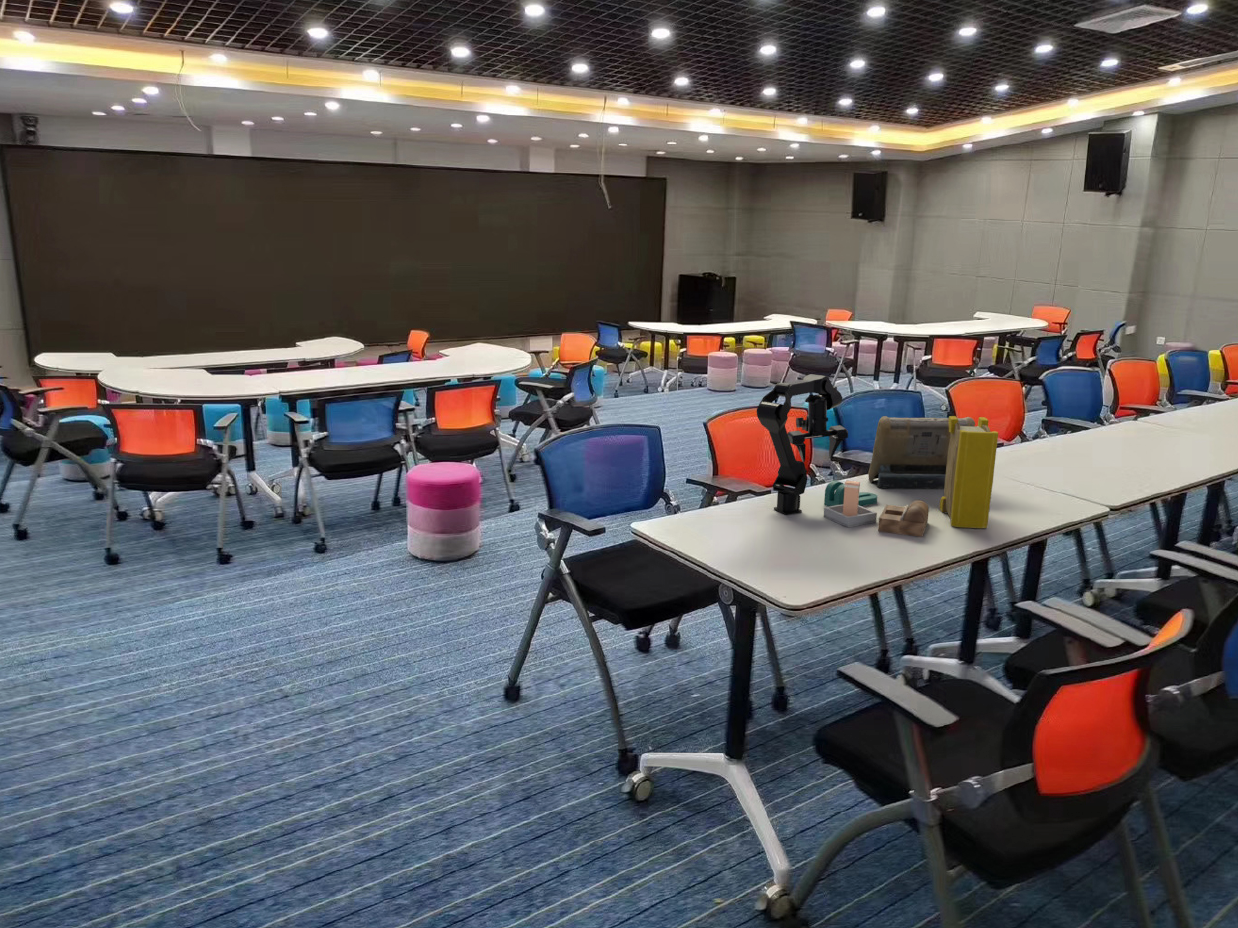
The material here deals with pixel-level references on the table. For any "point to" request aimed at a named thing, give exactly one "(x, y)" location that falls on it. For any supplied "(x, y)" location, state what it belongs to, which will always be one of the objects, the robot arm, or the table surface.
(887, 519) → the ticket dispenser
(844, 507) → the peach block
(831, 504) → the bracket
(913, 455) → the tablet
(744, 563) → the table surface
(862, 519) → the tray
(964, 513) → the decorative book
